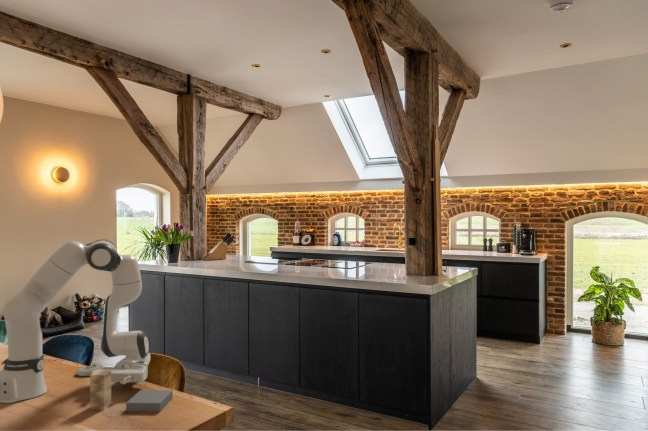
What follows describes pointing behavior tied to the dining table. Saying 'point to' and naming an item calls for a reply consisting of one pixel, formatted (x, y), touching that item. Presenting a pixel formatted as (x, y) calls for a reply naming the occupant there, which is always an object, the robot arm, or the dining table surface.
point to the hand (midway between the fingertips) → (109, 382)
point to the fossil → (88, 369)
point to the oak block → (100, 390)
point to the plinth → (149, 400)
